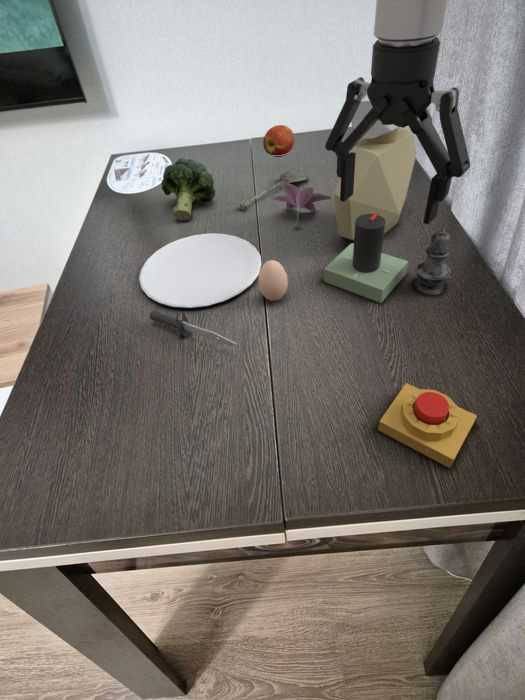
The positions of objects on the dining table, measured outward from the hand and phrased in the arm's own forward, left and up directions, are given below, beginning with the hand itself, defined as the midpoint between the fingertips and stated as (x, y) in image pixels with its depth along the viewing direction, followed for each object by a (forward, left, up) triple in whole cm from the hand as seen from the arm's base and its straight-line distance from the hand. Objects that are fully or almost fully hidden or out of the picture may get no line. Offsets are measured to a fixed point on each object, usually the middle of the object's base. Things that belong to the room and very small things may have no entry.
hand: (386, 208), depth 66 cm
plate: (+34, +10, -18) cm, 40 cm away
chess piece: (-6, -9, -18) cm, 21 cm away
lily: (+28, -17, -18) cm, 37 cm away
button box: (-18, +20, -18) cm, 33 cm away
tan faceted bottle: (+12, -20, -18) cm, 30 cm away
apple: (+53, -43, -18) cm, 70 cm away
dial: (+5, -5, -15) cm, 16 cm away
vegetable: (+54, -8, -18) cm, 57 cm away
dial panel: (+5, -5, -18) cm, 19 cm away
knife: (+21, +25, -18) cm, 37 cm away
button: (-18, +20, -14) cm, 31 cm away
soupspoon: (+41, -24, -18) cm, 50 cm away
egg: (+16, +9, -18) cm, 26 cm away
